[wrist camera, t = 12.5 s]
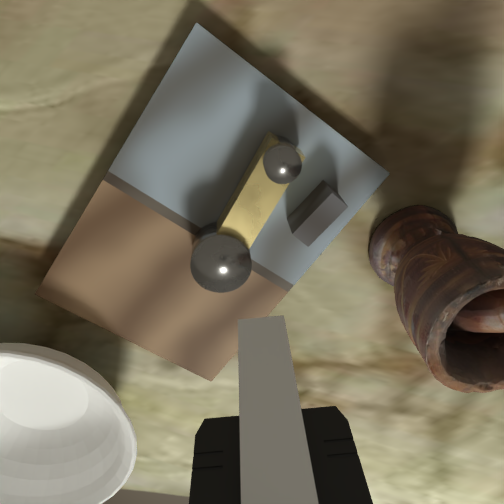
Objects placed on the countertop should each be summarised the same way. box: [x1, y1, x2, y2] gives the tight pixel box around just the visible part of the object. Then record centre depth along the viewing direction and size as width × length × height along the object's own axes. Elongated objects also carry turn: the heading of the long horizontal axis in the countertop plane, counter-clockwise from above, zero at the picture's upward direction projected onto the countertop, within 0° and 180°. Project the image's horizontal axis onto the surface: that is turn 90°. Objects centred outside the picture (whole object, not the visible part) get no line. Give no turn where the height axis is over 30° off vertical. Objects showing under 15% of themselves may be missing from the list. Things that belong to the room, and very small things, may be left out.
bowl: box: [0, 343, 137, 504], centre depth 39 cm, size 20×20×6 cm
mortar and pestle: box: [369, 205, 504, 393], centre depth 28 cm, size 12×9×20 cm
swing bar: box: [190, 131, 305, 293], centre depth 31 cm, size 12×4×4 cm, turn 151°
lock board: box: [35, 23, 390, 381], centre depth 34 cm, size 17×24×5 cm
